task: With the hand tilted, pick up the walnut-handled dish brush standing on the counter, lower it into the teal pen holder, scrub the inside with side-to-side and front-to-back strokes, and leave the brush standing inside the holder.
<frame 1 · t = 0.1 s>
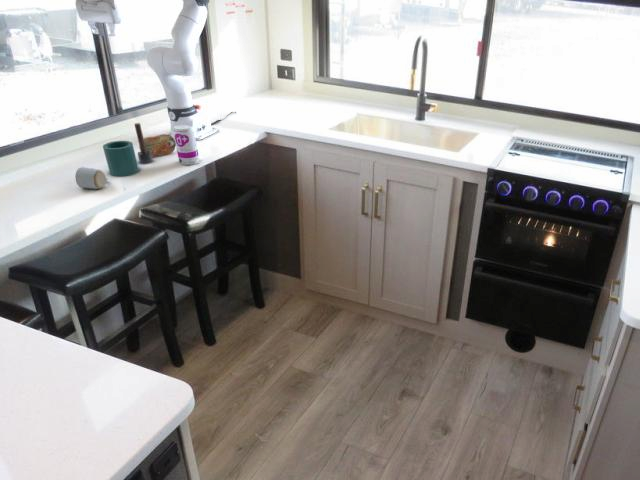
hand: (104, 35, 225), 48 cm above the table, tool pointing down, fingers open, 8 cm apart
dish brush: (146, 161, 244), on the table
ceramic mug: (95, 186, 220), on the table
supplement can: (189, 162, 244), on the table
teal pen holder: (124, 171, 234), on the table
tin: (159, 155, 251), on the table
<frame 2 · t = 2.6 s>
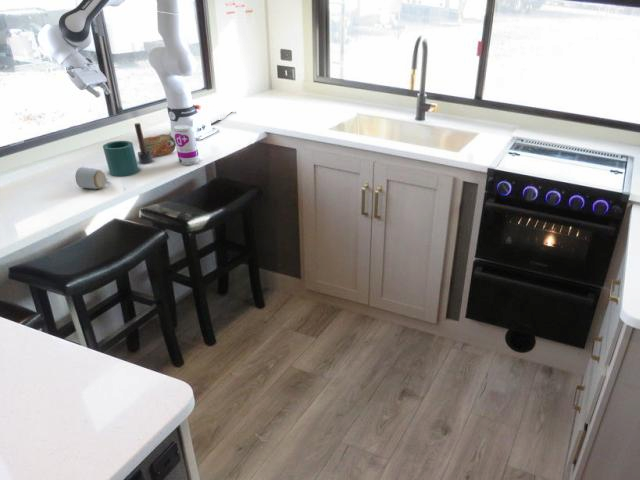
hand: (104, 95, 231), 27 cm above the table, tool tilted 40°, fingers open, 8 cm apart
nothing on the table moved.
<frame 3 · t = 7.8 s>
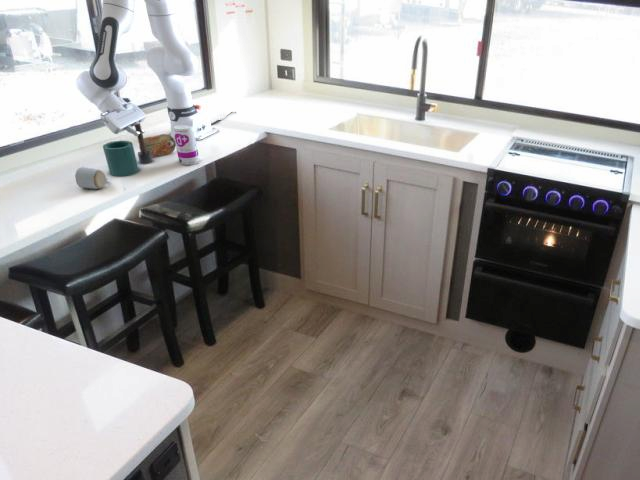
hand: (141, 133, 237), 12 cm above the table, tool tilted 45°, fingers closed on dish brush, 2 cm apart
dish brush: (146, 161, 244), on the table, touching gripper
everything else where it was.
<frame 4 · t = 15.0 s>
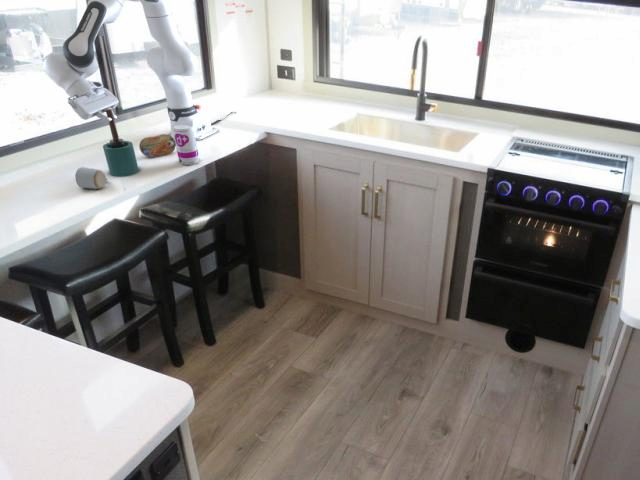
hand: (112, 120, 223), 21 cm above the table, tool tilted 45°, fingers closed on dish brush, 2 cm apart
dish brush: (118, 150, 229), point 9 cm above the table, touching gripper
everything else where it was.
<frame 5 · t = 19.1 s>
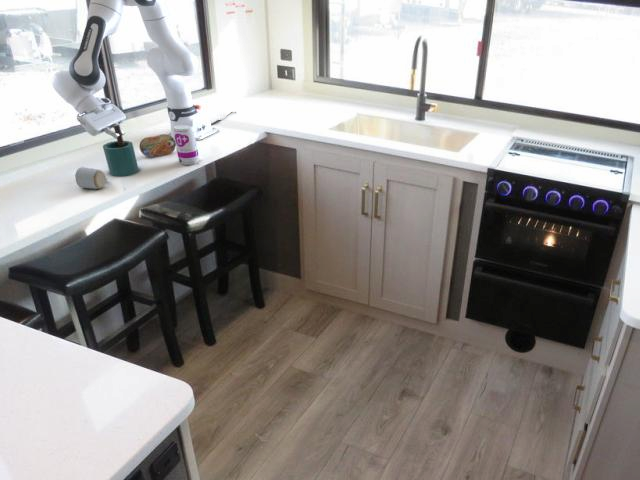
hand: (120, 135, 227), 14 cm above the table, tool tilted 45°, fingers closed on dish brush, 2 cm apart
dish brush: (126, 164, 234), point 2 cm above the table, touching gripper
everything else where it was.
when the fingers open (13 cm above the table, at t = 22.1 s): dish brush stays where it is, resting on teal pen holder.
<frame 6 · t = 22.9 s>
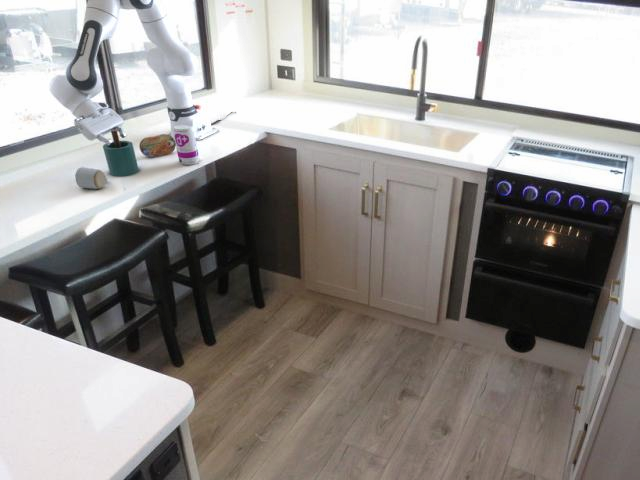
hand: (118, 140, 227), 13 cm above the table, tool tilted 45°, fingers open, 8 cm apart
dish brush: (123, 169, 233), point 1 cm above the table, touching teal pen holder
teal pen holder: (124, 171, 234), on the table, touching dish brush
everything else where it was.
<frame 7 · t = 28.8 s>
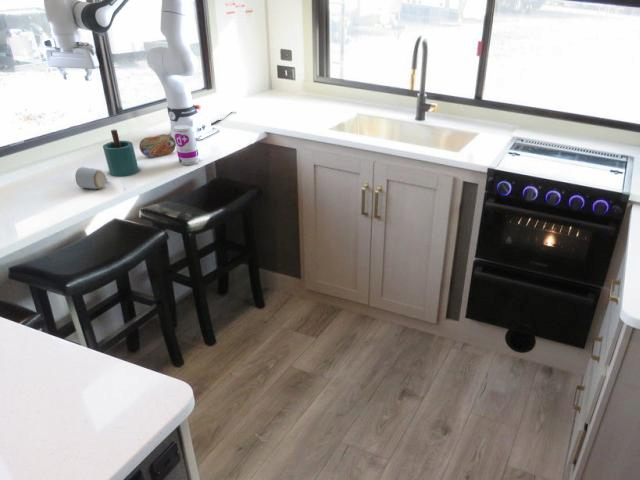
hand: (77, 79, 225), 33 cm above the table, tool pointing down, fingers open, 8 cm apart
nothing on the table moved.
at the end: dish brush 0.1 cm off-centre in the teal pen holder, point 0.8 cm above the teal pen holder's base; teal pen holder tilted 0°; teal pen holder moved 0.0 cm from its start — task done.
